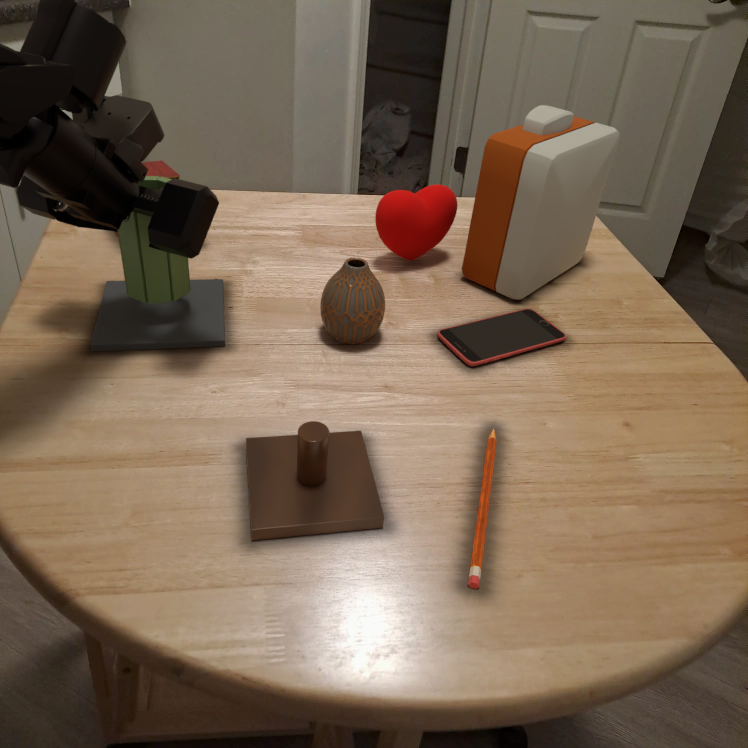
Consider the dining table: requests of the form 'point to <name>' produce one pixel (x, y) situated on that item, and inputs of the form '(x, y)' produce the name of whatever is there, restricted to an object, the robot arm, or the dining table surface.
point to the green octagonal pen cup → (150, 259)
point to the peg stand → (311, 483)
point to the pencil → (482, 513)
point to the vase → (353, 303)
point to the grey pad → (161, 319)
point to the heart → (415, 219)
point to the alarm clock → (537, 200)
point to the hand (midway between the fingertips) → (162, 236)
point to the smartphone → (500, 336)
